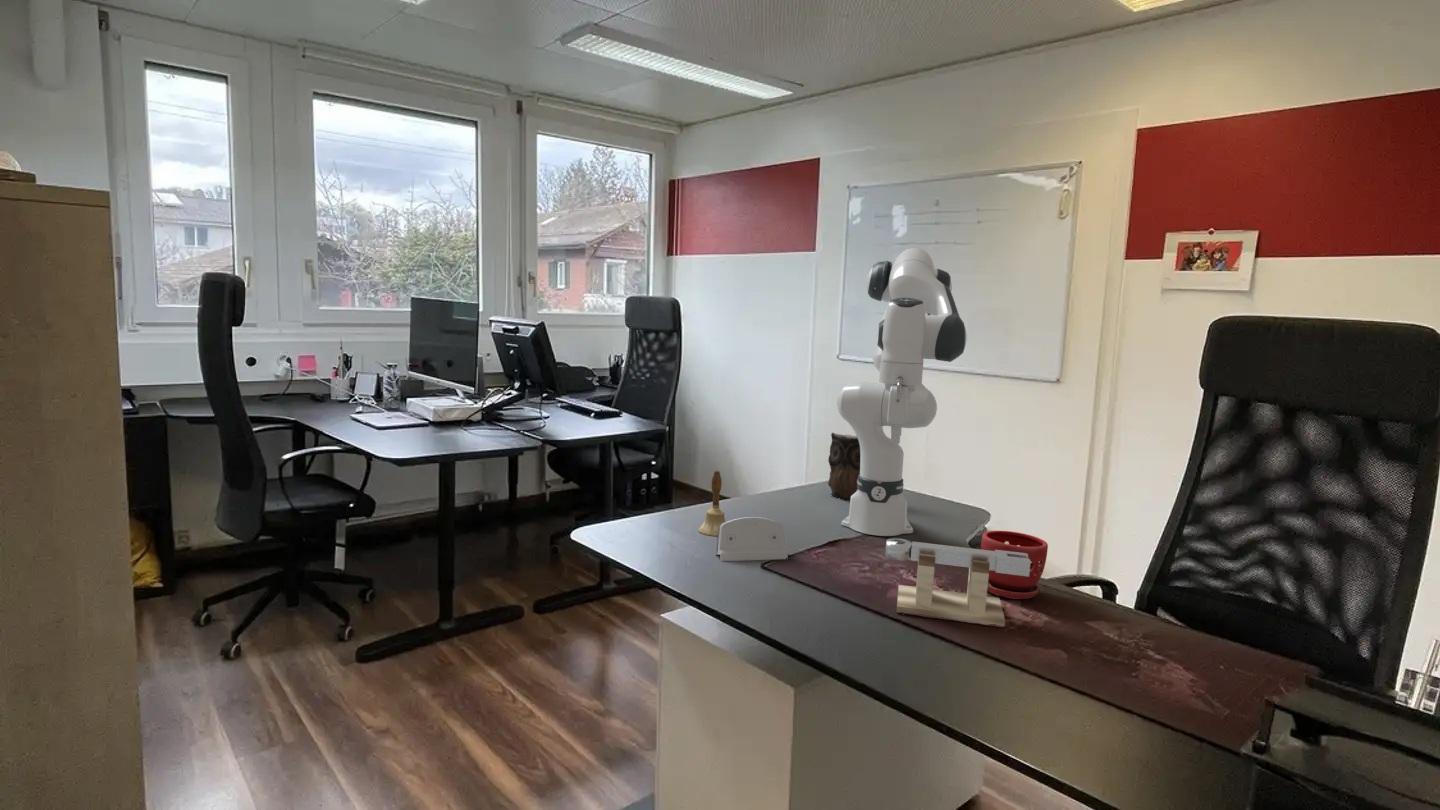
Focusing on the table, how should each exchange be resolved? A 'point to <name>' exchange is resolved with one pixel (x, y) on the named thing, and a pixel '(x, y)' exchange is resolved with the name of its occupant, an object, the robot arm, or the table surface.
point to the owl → (844, 465)
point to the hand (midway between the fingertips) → (895, 439)
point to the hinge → (751, 540)
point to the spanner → (959, 556)
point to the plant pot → (1027, 544)
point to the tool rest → (951, 596)
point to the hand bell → (714, 510)
